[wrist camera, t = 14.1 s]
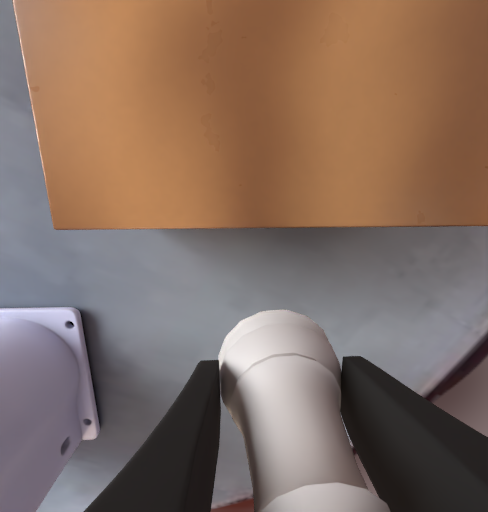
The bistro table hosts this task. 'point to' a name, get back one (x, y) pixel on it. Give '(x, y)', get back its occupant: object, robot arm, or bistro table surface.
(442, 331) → the bistro table surface
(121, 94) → the lid
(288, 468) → the rook chess piece
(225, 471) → the bistro table surface
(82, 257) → the bistro table surface
